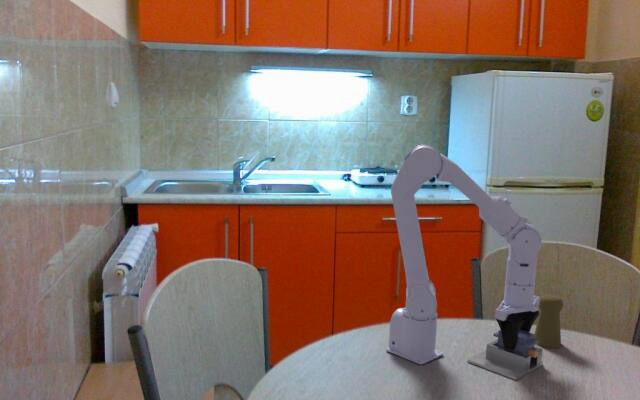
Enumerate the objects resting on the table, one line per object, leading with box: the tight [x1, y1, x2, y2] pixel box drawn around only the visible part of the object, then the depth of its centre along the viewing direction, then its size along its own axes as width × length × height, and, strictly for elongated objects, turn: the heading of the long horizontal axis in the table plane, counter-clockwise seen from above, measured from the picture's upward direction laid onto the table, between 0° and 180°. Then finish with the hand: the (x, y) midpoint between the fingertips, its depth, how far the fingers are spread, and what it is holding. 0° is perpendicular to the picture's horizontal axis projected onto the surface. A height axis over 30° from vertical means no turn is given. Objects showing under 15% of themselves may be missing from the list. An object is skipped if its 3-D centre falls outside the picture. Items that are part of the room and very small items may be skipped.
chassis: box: [466, 339, 544, 381], centre depth 127 cm, size 11×11×4 cm
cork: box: [534, 294, 564, 349], centre depth 138 cm, size 6×6×11 cm
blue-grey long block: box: [493, 329, 539, 358], centre depth 126 cm, size 9×4×4 cm, turn 44°
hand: (514, 345), depth 127 cm, fingers closed on blue-grey long block, 4 cm apart
